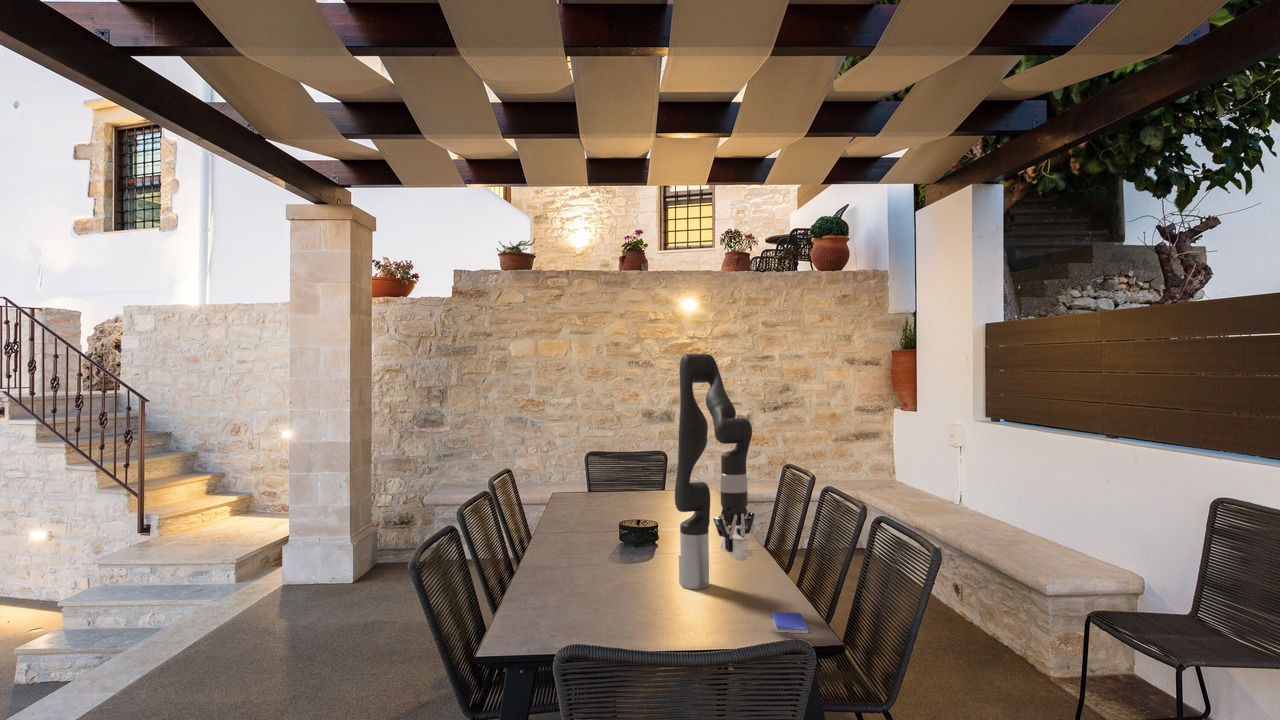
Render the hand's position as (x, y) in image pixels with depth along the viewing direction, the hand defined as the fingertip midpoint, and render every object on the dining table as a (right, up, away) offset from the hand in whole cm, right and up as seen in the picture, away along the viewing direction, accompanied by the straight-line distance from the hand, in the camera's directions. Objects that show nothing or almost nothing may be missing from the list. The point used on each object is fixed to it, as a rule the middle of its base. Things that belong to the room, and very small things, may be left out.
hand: (734, 550), depth 195 cm
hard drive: (+14, -20, -5) cm, 25 cm away
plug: (0, -1, +1) cm, 1 cm away
